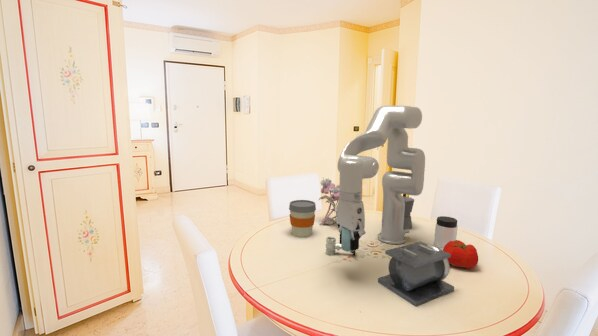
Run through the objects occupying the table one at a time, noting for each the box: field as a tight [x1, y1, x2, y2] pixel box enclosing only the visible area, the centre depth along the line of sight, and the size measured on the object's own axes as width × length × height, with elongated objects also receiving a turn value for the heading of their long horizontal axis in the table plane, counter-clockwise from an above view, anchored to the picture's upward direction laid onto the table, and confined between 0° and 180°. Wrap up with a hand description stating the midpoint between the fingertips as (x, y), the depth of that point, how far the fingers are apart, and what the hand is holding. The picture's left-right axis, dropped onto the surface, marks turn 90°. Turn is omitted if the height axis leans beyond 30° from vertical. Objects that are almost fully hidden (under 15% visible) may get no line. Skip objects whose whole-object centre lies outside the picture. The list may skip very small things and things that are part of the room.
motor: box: [377, 240, 455, 307], centre depth 106 cm, size 18×16×13 cm
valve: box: [325, 236, 357, 257], centre depth 131 cm, size 7×7×12 cm
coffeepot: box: [402, 194, 415, 231], centre depth 164 cm, size 15×9×18 cm, turn 162°
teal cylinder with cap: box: [340, 226, 356, 253], centre depth 111 cm, size 5×5×9 cm
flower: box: [318, 178, 339, 226], centre depth 165 cm, size 20×22×25 cm
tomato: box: [442, 239, 479, 269], centre depth 123 cm, size 13×12×8 cm
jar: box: [433, 215, 458, 249], centre depth 142 cm, size 9×8×12 cm
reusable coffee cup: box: [288, 199, 317, 238], centre depth 152 cm, size 13×13×15 cm
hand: (348, 245), depth 112 cm, fingers closed on teal cylinder with cap, 5 cm apart
